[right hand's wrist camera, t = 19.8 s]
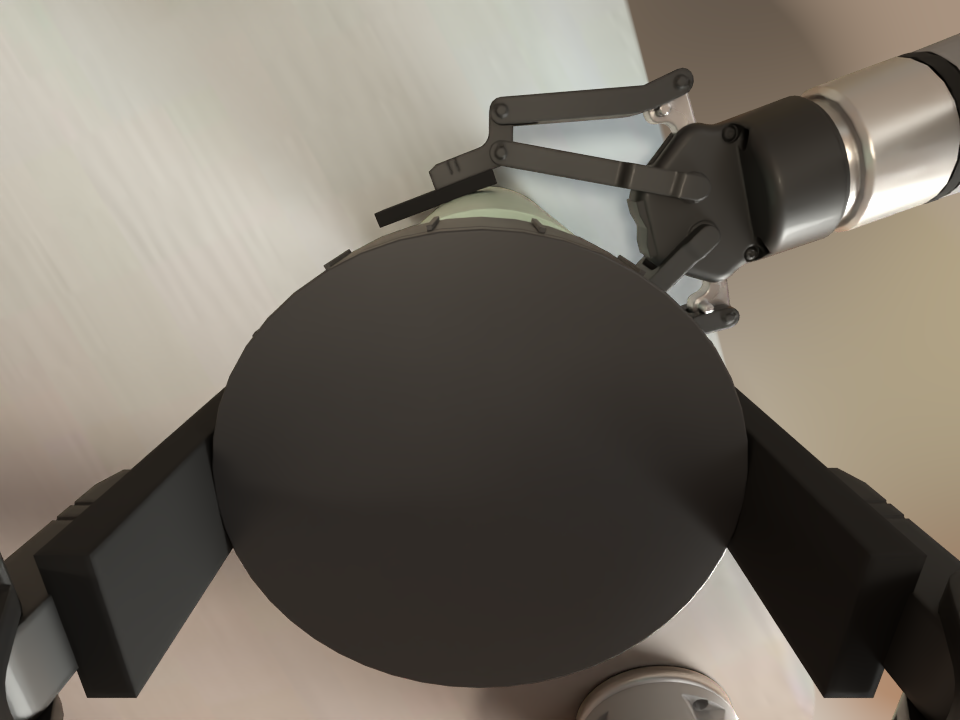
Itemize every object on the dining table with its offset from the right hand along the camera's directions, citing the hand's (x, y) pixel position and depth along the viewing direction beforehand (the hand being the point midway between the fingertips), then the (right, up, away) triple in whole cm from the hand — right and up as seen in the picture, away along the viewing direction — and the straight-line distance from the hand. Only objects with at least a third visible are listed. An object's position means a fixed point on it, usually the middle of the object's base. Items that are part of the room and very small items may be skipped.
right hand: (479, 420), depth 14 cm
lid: (0, -1, -3) cm, 3 cm away
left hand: (-4, +5, +17) cm, 18 cm away
